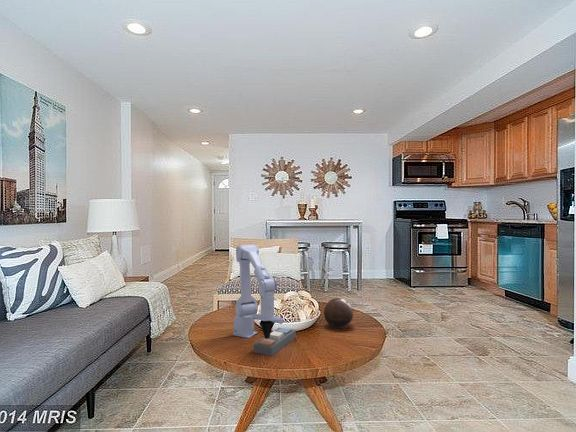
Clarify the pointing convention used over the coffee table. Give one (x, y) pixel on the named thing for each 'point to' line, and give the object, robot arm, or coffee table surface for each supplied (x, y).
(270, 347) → the key console
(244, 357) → the coffee table surface
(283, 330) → the blue key
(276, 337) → the white key
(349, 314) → the wooden sphere
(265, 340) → the terracotta key
